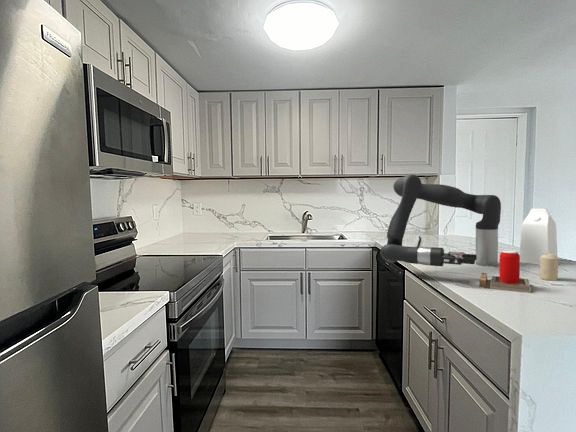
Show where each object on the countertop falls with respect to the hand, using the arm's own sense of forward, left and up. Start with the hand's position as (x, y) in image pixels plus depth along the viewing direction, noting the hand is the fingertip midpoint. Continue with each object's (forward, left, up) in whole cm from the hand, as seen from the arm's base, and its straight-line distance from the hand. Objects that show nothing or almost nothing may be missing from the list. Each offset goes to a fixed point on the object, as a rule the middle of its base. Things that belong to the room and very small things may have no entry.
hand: (475, 259), depth 131 cm
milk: (-55, +23, -9) cm, 60 cm away
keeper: (0, +11, -9) cm, 14 cm away
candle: (-19, +24, -9) cm, 32 cm away
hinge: (-72, -38, -10) cm, 82 cm away
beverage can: (0, +11, -8) cm, 14 cm away
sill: (-1, +3, -9) cm, 10 cm away
